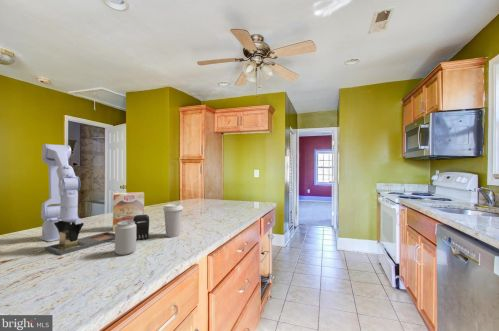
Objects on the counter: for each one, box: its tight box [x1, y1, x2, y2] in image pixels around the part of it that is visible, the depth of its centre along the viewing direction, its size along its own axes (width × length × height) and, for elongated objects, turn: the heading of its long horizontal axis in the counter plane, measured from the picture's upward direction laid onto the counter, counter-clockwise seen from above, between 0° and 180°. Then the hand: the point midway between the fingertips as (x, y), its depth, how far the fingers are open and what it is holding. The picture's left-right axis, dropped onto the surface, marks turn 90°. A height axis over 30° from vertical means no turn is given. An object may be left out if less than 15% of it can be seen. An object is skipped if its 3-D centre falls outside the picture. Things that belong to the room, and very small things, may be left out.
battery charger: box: [133, 213, 150, 241], centre depth 108 cm, size 7×4×11 cm, turn 119°
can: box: [114, 221, 137, 256], centre depth 91 cm, size 8×8×12 cm
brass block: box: [58, 230, 79, 251], centre depth 95 cm, size 4×4×7 cm
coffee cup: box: [162, 203, 184, 238], centre depth 115 cm, size 10×10×15 cm
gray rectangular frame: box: [44, 231, 115, 256], centre depth 102 cm, size 12×25×1 cm, turn 153°
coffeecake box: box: [112, 191, 145, 232], centre depth 127 cm, size 15×7×20 cm, turn 119°
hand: (68, 239), depth 95 cm, fingers open, 7 cm apart
